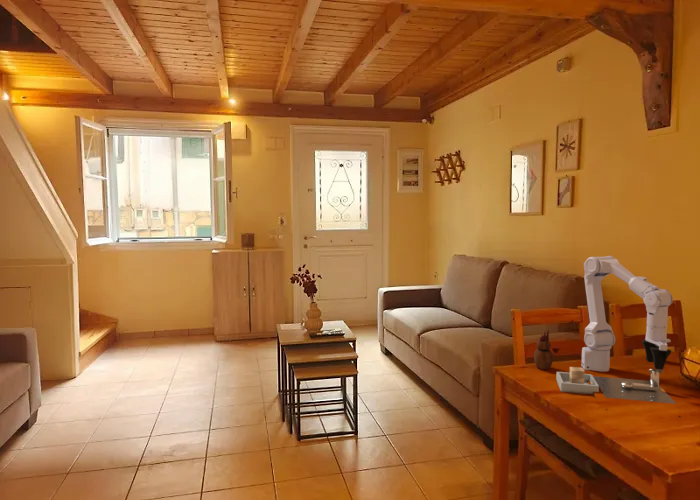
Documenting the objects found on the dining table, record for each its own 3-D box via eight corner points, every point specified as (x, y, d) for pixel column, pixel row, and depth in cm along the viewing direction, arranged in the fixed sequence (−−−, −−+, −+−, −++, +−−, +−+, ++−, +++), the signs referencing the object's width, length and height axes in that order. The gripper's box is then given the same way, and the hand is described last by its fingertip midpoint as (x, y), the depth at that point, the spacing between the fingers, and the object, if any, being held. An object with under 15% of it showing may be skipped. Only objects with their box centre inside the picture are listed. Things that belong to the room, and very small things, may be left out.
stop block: (571, 387, 163) (571, 370, 163) (569, 383, 167) (569, 366, 166) (584, 388, 162) (584, 371, 162) (581, 384, 166) (582, 367, 165)
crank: (622, 387, 160) (623, 368, 159) (620, 383, 163) (620, 364, 163) (663, 391, 156) (664, 371, 156) (660, 387, 160) (661, 368, 159)
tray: (561, 391, 161) (561, 383, 161) (556, 379, 172) (556, 371, 172) (598, 394, 158) (598, 386, 157) (591, 382, 169) (591, 374, 168)
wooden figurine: (549, 365, 187) (550, 328, 186) (554, 370, 181) (555, 332, 180) (532, 365, 188) (532, 328, 186) (536, 370, 182) (537, 332, 181)
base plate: (605, 400, 153) (605, 396, 153) (592, 378, 172) (592, 375, 172) (676, 406, 148) (676, 403, 148) (654, 383, 167) (654, 380, 167)
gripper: (679, 332, 149) (676, 373, 150) (662, 321, 163) (661, 359, 164) (653, 330, 151) (651, 371, 152) (639, 320, 165) (638, 358, 166)
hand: (654, 365), depth 158 cm, fingers open, 7 cm apart
